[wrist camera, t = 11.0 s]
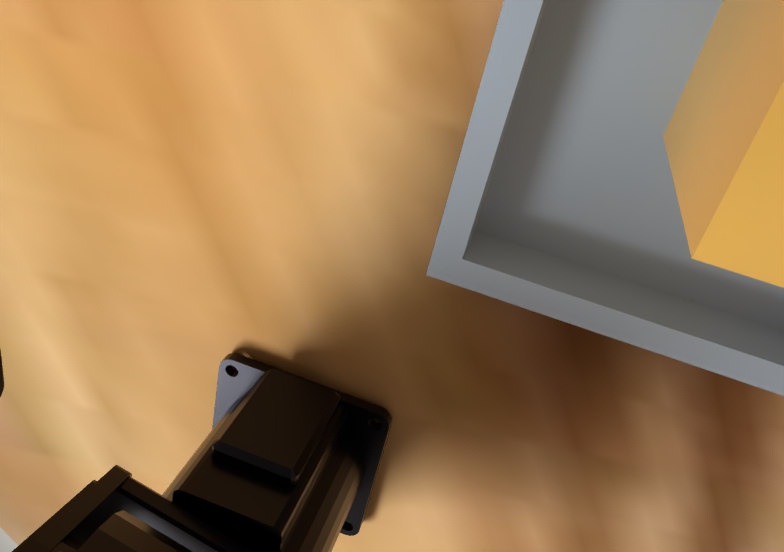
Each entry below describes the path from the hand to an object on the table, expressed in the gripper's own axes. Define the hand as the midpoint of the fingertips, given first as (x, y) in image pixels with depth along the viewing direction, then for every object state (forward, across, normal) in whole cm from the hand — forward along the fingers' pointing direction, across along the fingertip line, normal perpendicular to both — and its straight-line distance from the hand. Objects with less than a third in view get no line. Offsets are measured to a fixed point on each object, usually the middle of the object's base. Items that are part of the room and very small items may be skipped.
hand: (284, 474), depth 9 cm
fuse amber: (+11, -6, -5) cm, 14 cm away
